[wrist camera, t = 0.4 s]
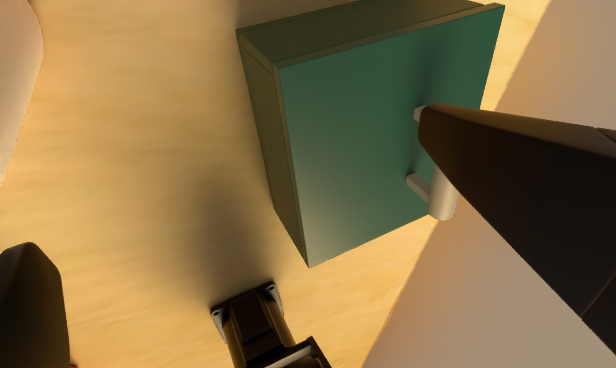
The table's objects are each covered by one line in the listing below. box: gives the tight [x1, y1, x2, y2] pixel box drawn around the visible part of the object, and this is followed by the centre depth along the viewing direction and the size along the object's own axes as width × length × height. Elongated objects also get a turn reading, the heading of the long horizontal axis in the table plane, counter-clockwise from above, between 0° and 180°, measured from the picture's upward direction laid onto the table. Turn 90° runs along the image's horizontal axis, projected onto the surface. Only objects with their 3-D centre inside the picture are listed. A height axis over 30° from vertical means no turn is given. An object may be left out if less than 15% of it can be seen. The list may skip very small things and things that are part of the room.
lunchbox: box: [236, 0, 484, 259], centre depth 24 cm, size 12×14×6 cm
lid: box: [272, 3, 505, 268], centre depth 21 cm, size 13×14×5 cm
